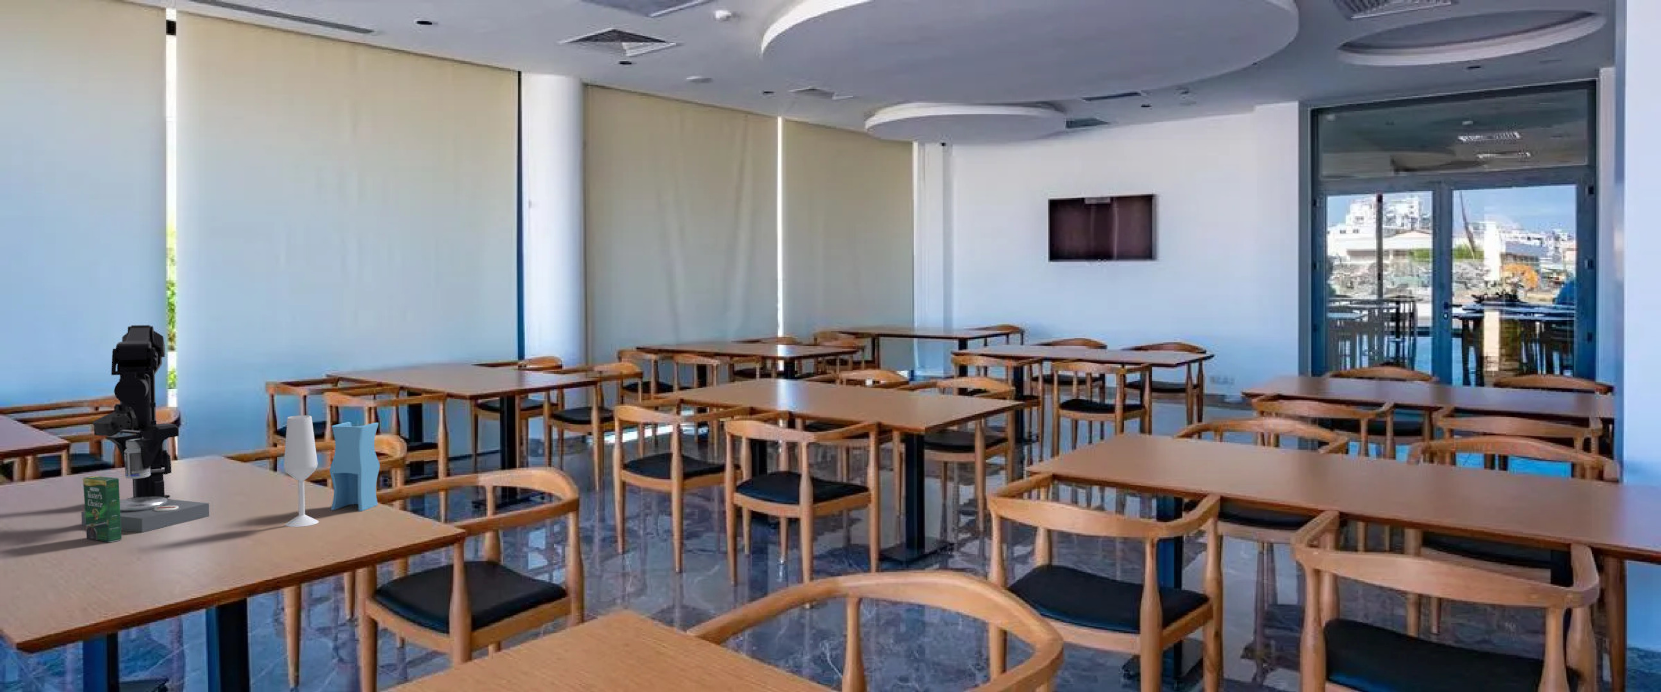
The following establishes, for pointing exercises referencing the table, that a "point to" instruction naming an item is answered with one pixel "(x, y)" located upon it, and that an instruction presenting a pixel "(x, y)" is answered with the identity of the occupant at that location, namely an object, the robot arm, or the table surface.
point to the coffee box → (102, 508)
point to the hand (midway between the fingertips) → (137, 467)
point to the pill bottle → (134, 461)
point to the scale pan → (141, 503)
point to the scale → (161, 515)
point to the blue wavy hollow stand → (354, 466)
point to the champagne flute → (300, 461)
